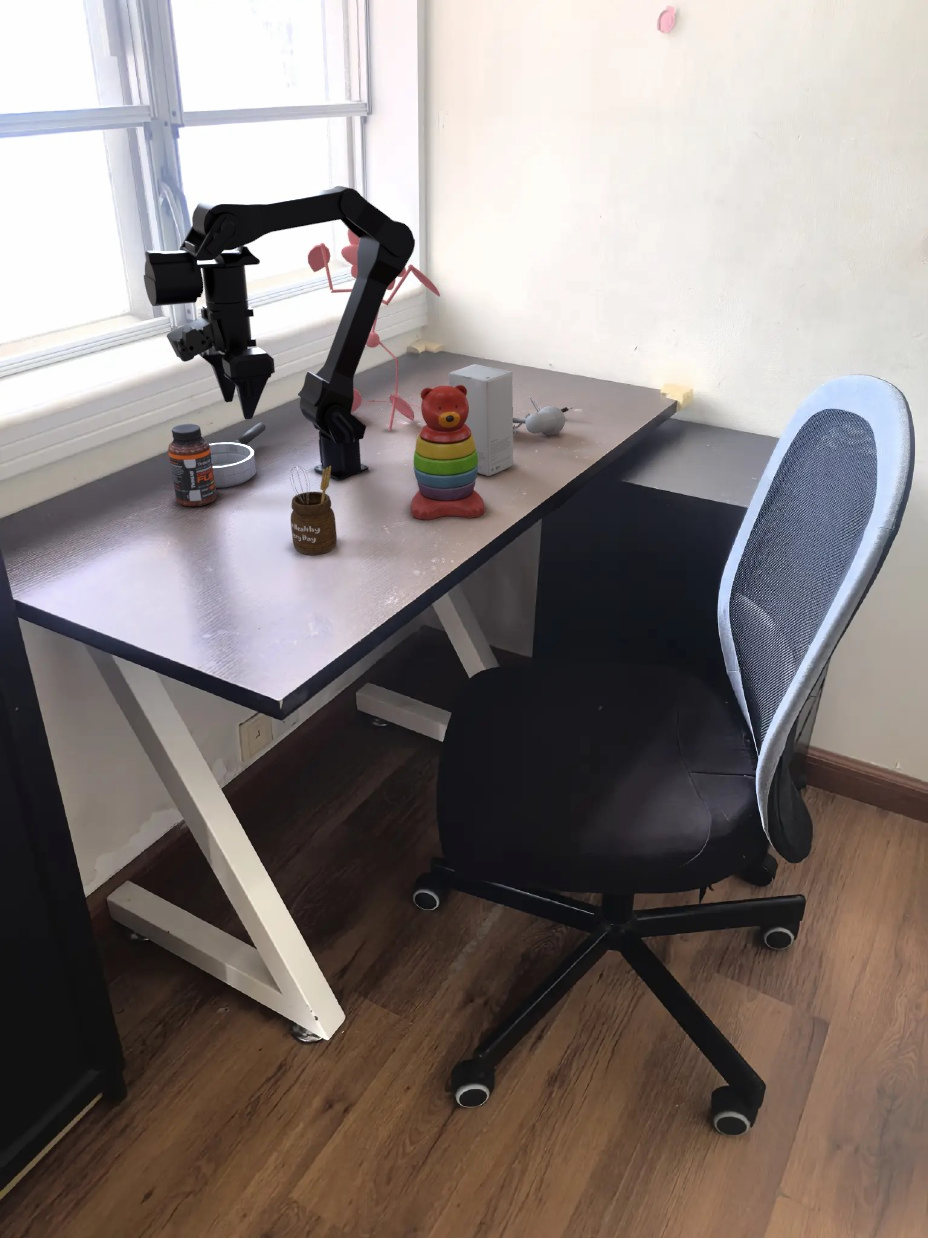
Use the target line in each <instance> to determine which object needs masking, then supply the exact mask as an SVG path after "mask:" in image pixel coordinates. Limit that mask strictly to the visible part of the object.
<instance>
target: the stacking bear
mask: <svg viewBox="0 0 928 1238" xmlns="http://www.w3.org/2000/svg"><path fill="white" fill-rule="evenodd" d="M466 394H467V389H466V387H465V386H463V385H457V386H456V387H452V386H449V385H437V386H434V387H432V388H431V387H424V388H423V389H422V390H421V391H420V398H421V405H420V410H421V411H420V412H421V415H422V419H423V421H424V422H425V425H424V426H423V427H422V428H421V430H420V432H419V433H420V434H419V433H418V434H419V435H417V437H416V441H415V442H416V443H415V449H414V452H413V472H414V477H415V480H416V482H417V483H416V484H417V487H418V491H417V492H416V493H415V494H414V495H413V497H412V499H411V502H410V514H411V516H412V517H413V518H415V519H419V520H434V519H436V518H440V517H447V516H453V517H461V518H467V519H469V518H478V517H480V516H483V515H484V514H485V512H486V508H485V503H484V500H483V498H482V497H481V495H480V494H479V493H478V492H477V491H476V490H475V486H476V482H477V477H478V473H477V471H478V456H477V450H476V448H475V442H474V438H473V436H472V434H471V430H470V428H469V427H468V426H467V425H466V424H464V423H465V422H466V420H467V417H468V413H469V405H468V401H467V398H466Z"/></svg>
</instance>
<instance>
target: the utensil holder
mask: <svg viewBox="0 0 928 1238" xmlns="http://www.w3.org/2000/svg"><path fill="white" fill-rule="evenodd" d="M298 468H299V469H300V470H301V471H302V473H303V475H304V479H305V482H306V483H305V484H306V488H308V491H305V492H304V491H303V486H302V483H301V479H300V474H299V470H298ZM295 469H296V472H297V477H298V480H299V481H298V482H299V484H300V488H301V493H299V492H298V490H297V487H296V485H295V480H294V473H292V472H294V471H295ZM289 472H290V473H291V478H292V479H291V478H289V479H290V481H291V480H292V481H293V484H292V482H290V485H294V488H295V489H294V488H293V486H291V487H292V490H293V492H294V493H295V495H294V496H293V497H292V499H291V505H290V506H291V507H290V508H291V510H292V511H291V513H290V529H291V530H290V531H291V539H292V544H293V548H294V549H295V550H296V551H297V552H298V553H300V554H304V555H308V556H315V555H316V556H317V555H323V554H326V553H329V552H331V551H333V550H334V549H335V547H336V546H337V542H338V541H337V540H338V539H337V538H338V535H337V523H336V516H335V512H334V510H333V508H332V499H331V497H330V496H329V494H328V493H326V492H327V489H328V488H329V486H330V481H331V477H330V473H331V466H329V471H328V467H327V468H326V473H325V469H324V470H323V474H322V473H321V474H322V475H321V481H320V487H319V489H320V490H321V491H310V490H311V485H310V484H311V483H310V482H308V481H310V480H309V475H308V471H307V470H306V469H305V468H304V467H302V466H297V465H296V466H294V467H293V468H292V469H291V470H290V471H289ZM305 473H306V474H305ZM327 475H328V476H327ZM306 476H307V477H306ZM307 479H308V481H307ZM308 485H309V486H308Z"/></svg>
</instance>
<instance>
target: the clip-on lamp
mask: <svg viewBox="0 0 928 1238" xmlns="http://www.w3.org/2000/svg"><path fill="white" fill-rule="evenodd" d="M528 397H529V399H530V402H531V403H532V405H533V407H534V409H535V411H536V413H531V414H530V413H529V412H527V414H526V415H525V416H524V417H513V436H516V434H517V429H519V428H520V427H521V426H522V425H523V424H524V425H525V428H526V430H527V431H528V433H530V434H535V435H536V434H540V433H541V434H543V435H545V436H549V437H550V436H555V435H557V434H559V433H560V432H561V431H562V430H563V429H564V427H565V424H566V416H565V414H564V413H566V412H568V411H569V410H572V409H573V406H572V407H569V406H565V407H563V408H559V407H557V406H554V405H546V406H544V407H542V408H540V407H539V405H538V404H537V402H536V401H535V400H534V398H533V397H532V396H531V395H528ZM515 424H517V425H515Z"/></svg>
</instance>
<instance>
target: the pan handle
mask: <svg viewBox="0 0 928 1238" xmlns="http://www.w3.org/2000/svg"><path fill="white" fill-rule="evenodd" d="M266 428H267V427H266V425H265V423H264V422H258V423H256V424H255V425H254V426H252V427H251V428H249V429H248V430H246V432H244V433H243V434H242V435H240V436H239V437H237V438H236V439H235V440H233V441H232V442H231V443H238V444H243V445H246V446H247V445H248V444H249V443H250V442H252V441H253V440H255V438H257V437H258V436H259V435H261V434H262V433H263V432H264V431H265V430H266ZM229 450H230V451H237V446H236V445H229Z"/></svg>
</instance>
